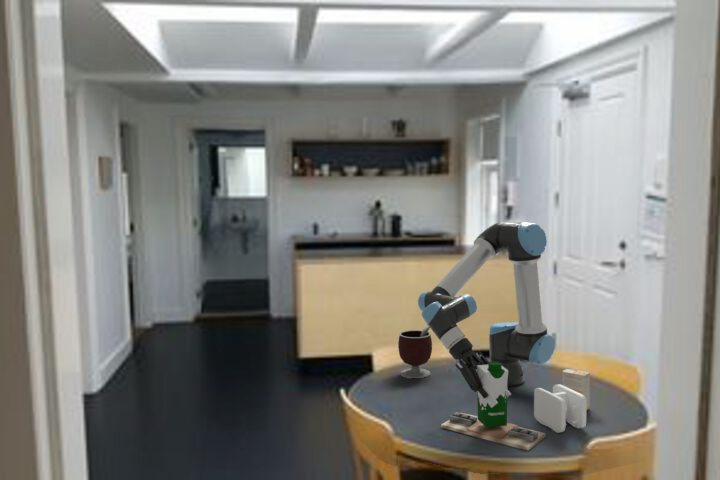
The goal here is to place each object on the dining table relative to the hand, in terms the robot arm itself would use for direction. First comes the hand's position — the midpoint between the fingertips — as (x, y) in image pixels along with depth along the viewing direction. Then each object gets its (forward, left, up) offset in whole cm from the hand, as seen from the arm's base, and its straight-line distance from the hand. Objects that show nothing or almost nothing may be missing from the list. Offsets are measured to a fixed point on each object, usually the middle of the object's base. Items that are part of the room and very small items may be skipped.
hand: (501, 400), depth 199 cm
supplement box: (-36, -9, -11) cm, 39 cm away
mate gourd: (-3, -67, -11) cm, 68 cm away
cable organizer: (-21, +1, -11) cm, 24 cm away
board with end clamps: (+2, -3, -11) cm, 11 cm away
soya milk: (+2, -3, -8) cm, 9 cm away
